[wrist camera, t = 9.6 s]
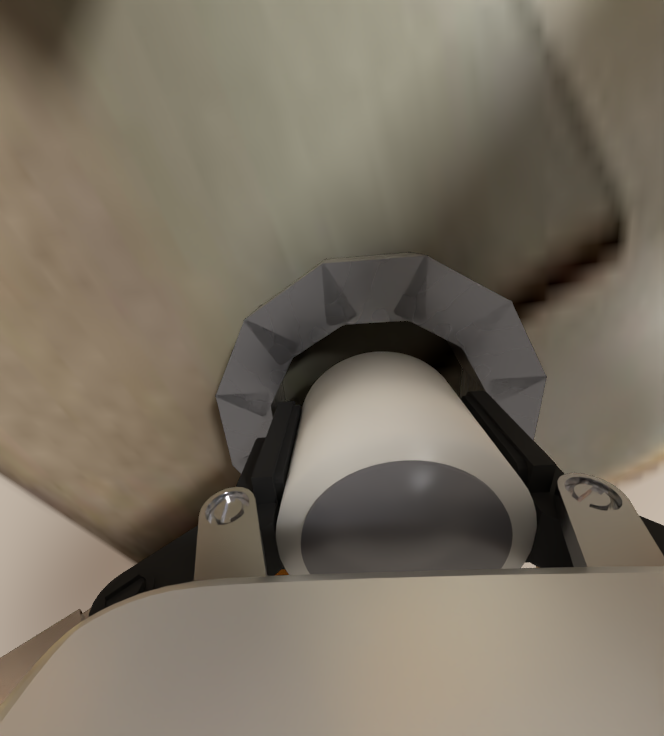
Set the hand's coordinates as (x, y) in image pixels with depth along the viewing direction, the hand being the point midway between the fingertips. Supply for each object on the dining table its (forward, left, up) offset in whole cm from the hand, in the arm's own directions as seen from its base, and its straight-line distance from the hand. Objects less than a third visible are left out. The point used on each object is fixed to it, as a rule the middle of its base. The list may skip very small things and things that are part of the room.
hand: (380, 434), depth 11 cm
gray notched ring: (0, 0, -3) cm, 3 cm away
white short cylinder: (0, 0, -1) cm, 1 cm away
